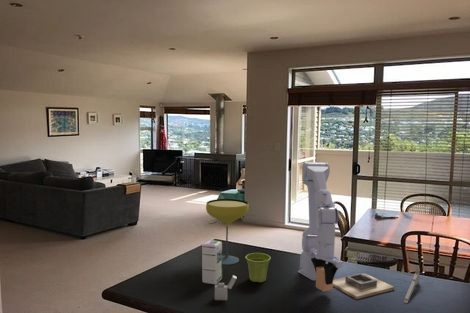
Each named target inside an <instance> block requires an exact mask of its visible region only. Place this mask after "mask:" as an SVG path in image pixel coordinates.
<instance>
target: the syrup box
mask: <svg viewBox="0 0 470 313" xmlns="http://www.w3.org/2000/svg"><path fill="white" fill-rule="evenodd" d="M201 249H202V253H201V254H202V256H201V258H202V260H201V267H202V268H201V269H202V270H201V272H202V273H201V276H202V283H204V284H211V285H217V284H218V283H220V281H221V280H222V279H223V265H222V256H223V242H222V240H216V239H208V240H207V241H206V242H204V243H202V246H201Z"/></svg>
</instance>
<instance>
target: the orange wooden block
mask: <svg viewBox="0 0 470 313" xmlns="http://www.w3.org/2000/svg"><path fill="white" fill-rule="evenodd" d="M333 287H334V286H333V282H332V284H329V285H327V284H326V281H325V270H324V267H323V266H320V267H316V280H315V288H317V289H318V290H320V291H322V292H327V291H331V290H334V289H333Z"/></svg>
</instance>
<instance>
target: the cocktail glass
mask: <svg viewBox="0 0 470 313" xmlns="http://www.w3.org/2000/svg"><path fill="white" fill-rule="evenodd" d="M249 208H250V206H249V202H248V201H245V200H242V199H234V198H219V199H212V200H211V199H210V200H208V201H207V202H206V205H205V210H206V212H207V214H208V215H209V216H210V217H212V218H213V219H216V220H218V221H220V222H221V223H222V224H223V225H224V226H225V228H226V230H225V231H226V233H225V234H226V235H225V254H224V255H222V266H229V265H235V264H238V263H239V262H240V259H239V257H237V256H233V255H229V251H228V250H229V249H228V248H229V247H228V246H229V243H228V237H229V236H228V235H229V232H228V230H229V227H230V225H231V224H232V223H233V222H235V221H237V220H240V219H241V218H243V217H245V216H246V215H247V214H248V212H249Z"/></svg>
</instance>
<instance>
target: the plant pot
mask: <svg viewBox="0 0 470 313" xmlns="http://www.w3.org/2000/svg"><path fill="white" fill-rule="evenodd" d="M271 259H272V258H271V256H270V255H269V254H266V253H263V252H252V253H248V254H246V256H245V260H246V263H247V267H248V268H247V269H248V277H249V280H250V281H251V282H253V283H257V282H258V283H263V282H265V281H267V274H268V273H267V272H268V269H269V268H268V267H269V263H270V261H271Z"/></svg>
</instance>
